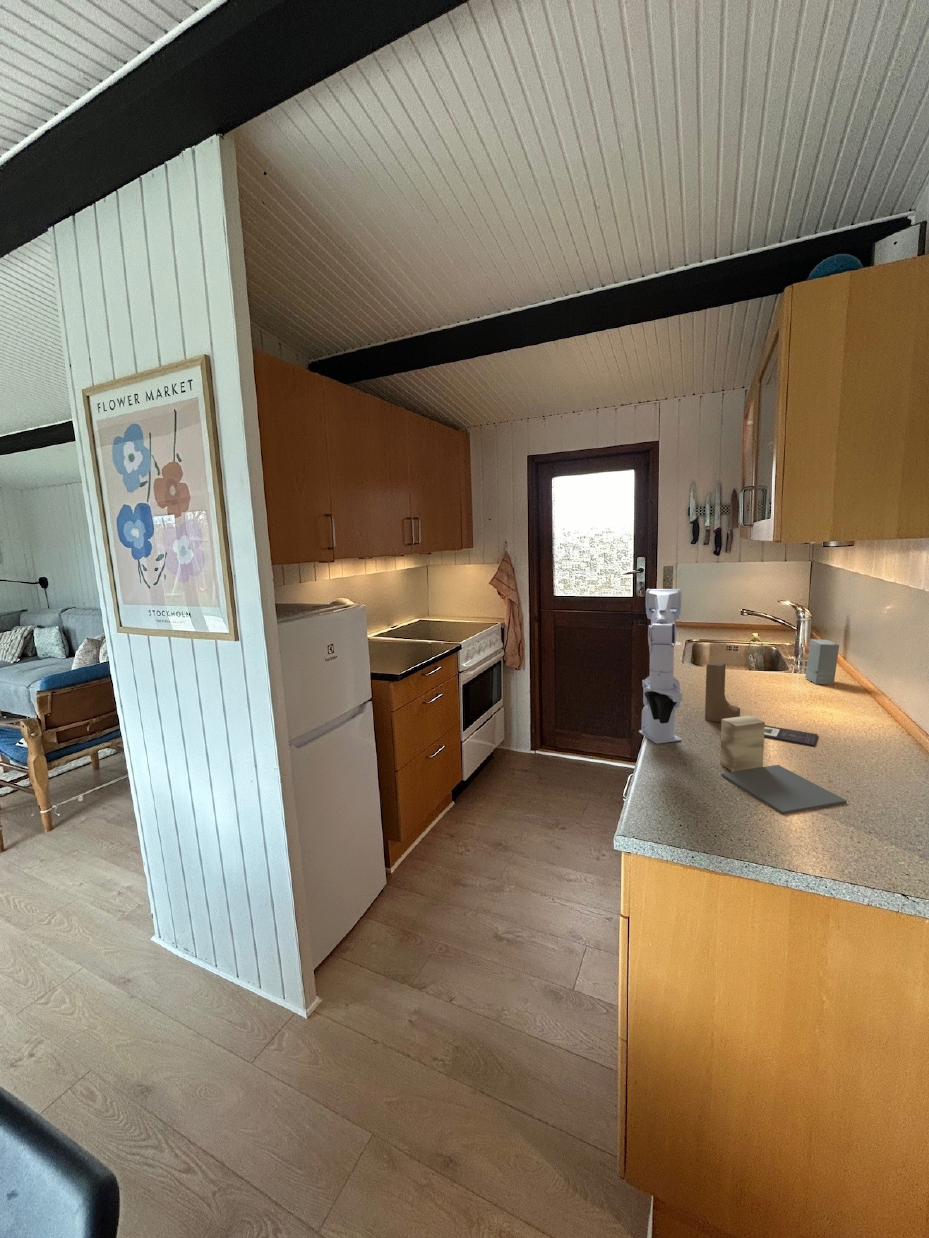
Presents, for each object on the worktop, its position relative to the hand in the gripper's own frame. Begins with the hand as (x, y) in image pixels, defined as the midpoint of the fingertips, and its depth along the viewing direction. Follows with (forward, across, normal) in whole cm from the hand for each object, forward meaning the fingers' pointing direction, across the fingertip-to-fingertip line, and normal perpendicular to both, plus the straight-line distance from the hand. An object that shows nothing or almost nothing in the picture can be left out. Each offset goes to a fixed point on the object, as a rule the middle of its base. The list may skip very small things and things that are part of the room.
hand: (660, 720), depth 130 cm
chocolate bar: (+11, -4, +40) cm, 42 cm away
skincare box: (+9, -42, +94) cm, 103 cm away
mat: (+11, +22, +16) cm, 29 cm away
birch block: (+10, +10, +16) cm, 22 cm away
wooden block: (+10, -18, +33) cm, 39 cm away
